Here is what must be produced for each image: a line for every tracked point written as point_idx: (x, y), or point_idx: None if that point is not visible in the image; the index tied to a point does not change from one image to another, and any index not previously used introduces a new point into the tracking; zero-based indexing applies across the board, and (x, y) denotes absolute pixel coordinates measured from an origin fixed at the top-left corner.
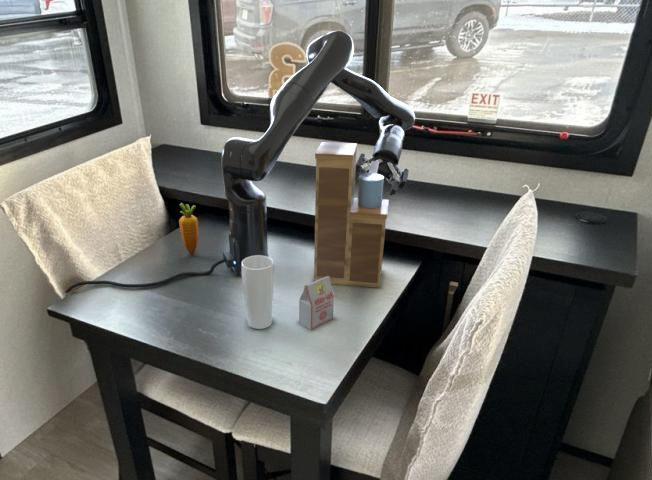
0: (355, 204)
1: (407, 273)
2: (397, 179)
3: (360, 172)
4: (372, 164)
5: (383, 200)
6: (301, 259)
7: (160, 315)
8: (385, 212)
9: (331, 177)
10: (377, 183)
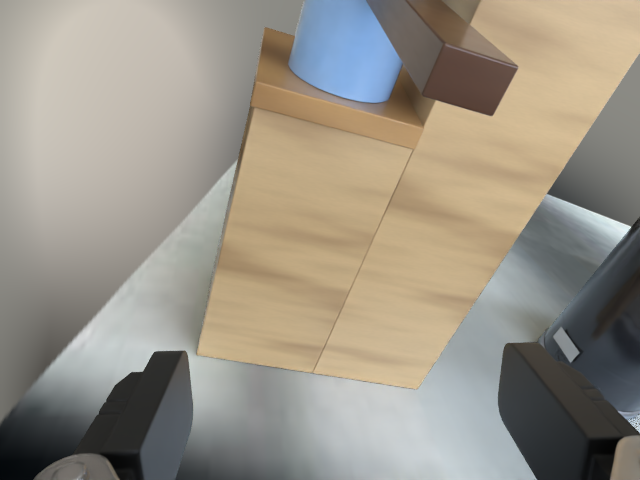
0: (394, 90)
1: (93, 339)
2: (84, 467)
3: (624, 419)
4: (465, 26)
5: (282, 81)
6: (494, 437)
7: (583, 234)
8: (270, 33)
9: None
10: None
